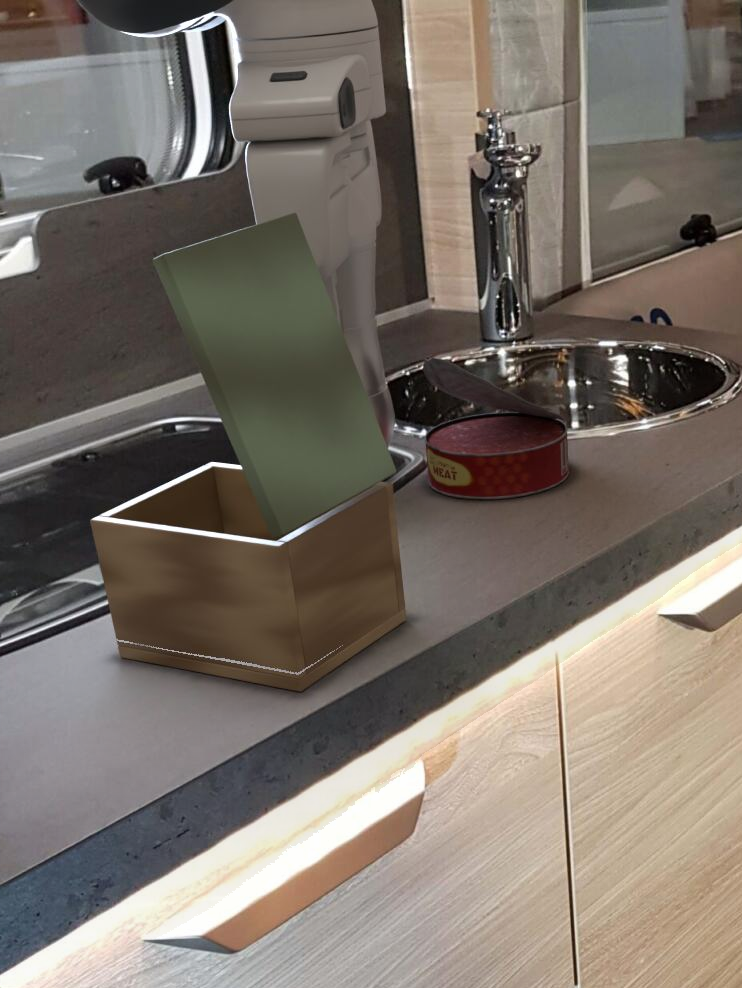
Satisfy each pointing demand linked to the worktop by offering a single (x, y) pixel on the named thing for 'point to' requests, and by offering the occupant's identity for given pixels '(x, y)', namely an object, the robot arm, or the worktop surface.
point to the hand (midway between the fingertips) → (340, 329)
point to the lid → (277, 369)
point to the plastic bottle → (363, 306)
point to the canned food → (493, 441)
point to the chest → (248, 579)
